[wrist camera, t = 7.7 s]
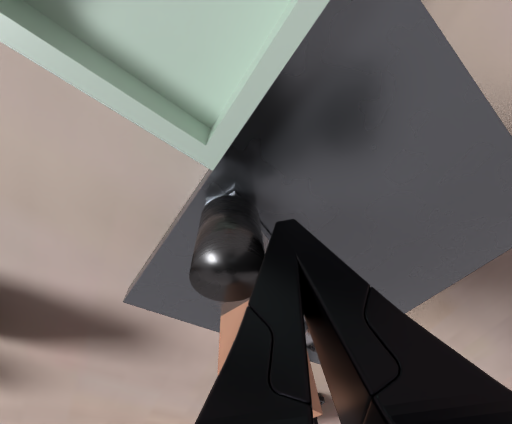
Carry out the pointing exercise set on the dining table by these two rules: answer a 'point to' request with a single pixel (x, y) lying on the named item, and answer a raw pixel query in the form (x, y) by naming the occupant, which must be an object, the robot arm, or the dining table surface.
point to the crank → (230, 251)
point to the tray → (166, 58)
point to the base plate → (360, 163)
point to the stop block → (227, 336)
